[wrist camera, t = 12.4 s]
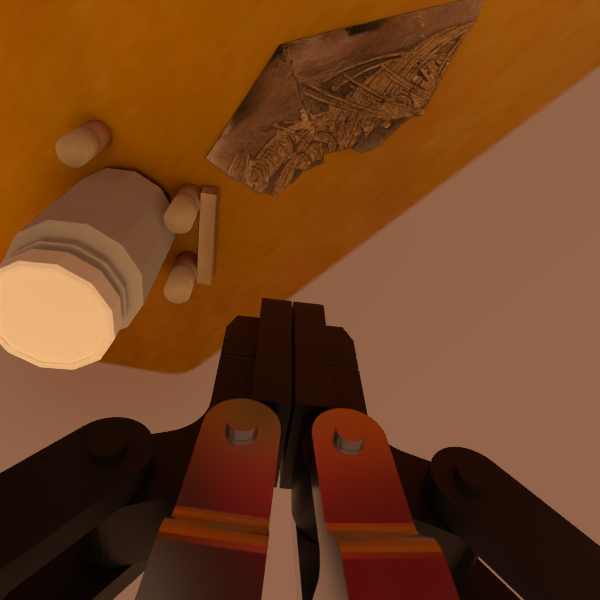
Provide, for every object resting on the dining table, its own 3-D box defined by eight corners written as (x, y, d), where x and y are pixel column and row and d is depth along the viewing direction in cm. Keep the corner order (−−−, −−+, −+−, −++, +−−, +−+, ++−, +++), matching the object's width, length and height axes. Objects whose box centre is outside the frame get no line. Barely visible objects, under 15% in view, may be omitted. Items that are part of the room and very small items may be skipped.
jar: (96, 266, 48) (7, 387, 32) (57, 171, 43) (-70, 262, 27) (190, 253, 47) (145, 370, 32) (162, 156, 42) (94, 240, 27)
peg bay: (98, 299, 50) (76, 332, 45) (82, 117, 40) (53, 133, 35) (211, 311, 51) (203, 345, 46) (222, 138, 41) (213, 156, 36)
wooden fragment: (238, 212, 45) (237, 216, 45) (174, 104, 40) (171, 106, 39) (500, 84, 40) (505, 86, 39) (466, -61, 35) (471, -62, 34)
